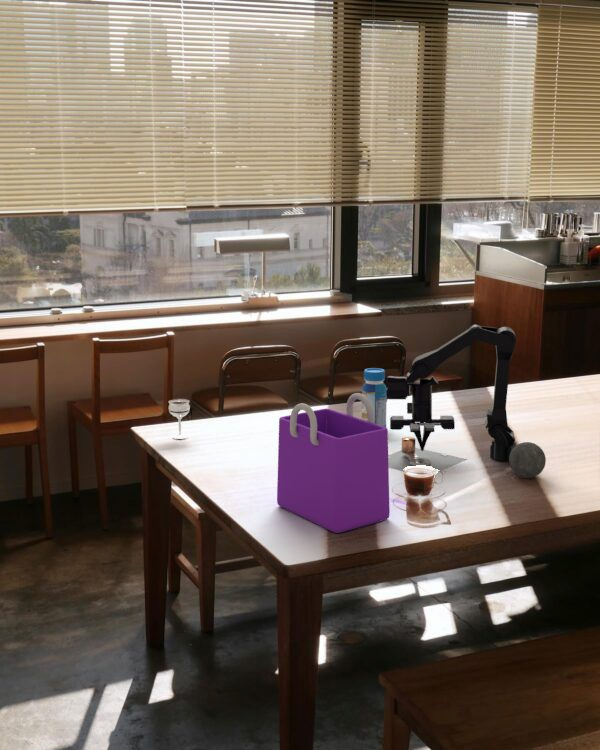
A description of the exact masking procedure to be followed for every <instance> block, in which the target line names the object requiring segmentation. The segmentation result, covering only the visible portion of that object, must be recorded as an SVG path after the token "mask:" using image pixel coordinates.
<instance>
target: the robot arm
mask: <svg viewBox="0 0 600 750" xmlns="http://www.w3.org/2000/svg"><path fill="white" fill-rule="evenodd" d="M476 341H479V342H482V343H486V344H490V345H494V346H495V350H496V351H495V353H496V366H495V377H494V379H495V380H494V386H493V387H494V390H493V398H492V399H493V400H492V401H493V402H492V407H491V409H486V419H485V420H484V424H485V425H484V426H485V429H487V433H488V435H489V436H490V437H491V438H492V439H493V440H491V444H490V448H489V458H490V459H492V460H494V461H496V462H500V463H509V456H510V453H511V451H512V449H513V448H514V447H515V446H516V445H517V444H516V443H517V442H516V437H515V433H514V430H513V429H512V428H510V426H509V425H508V416H507V399H508V398H507V397H508V388H509V374H510V367H511V366H510V365H511V360H512V358H513V354H514V352H515V348H516V344H517V336H516V334H515V331H514V330H513V329H512V328H511V327H510V326H502V327H500V328H498V327H493V326H484V325H479V324H472V325H471V326H470V327H469V328H468V329H466V330H465V331H463V332H462V333H461V334H460V333H459V335H457V336H455V337H453V338H452V339H451V340H449V341H448V342H446V343H445V344H443V345H441V346H440V347H438V348H436V349H434V350H432V351H427V352H426V353H422V354H420V355H418V356H416V357H415V358H414V359H413V361H412V366H411V369H410V370H409V371H408V372H407V374H406V375H405V376H393V375H388V376H387V382H386V383H387V385H386V388H387V392H386V396H387V400H407V398H408V397H410V396H411V399H412V400H411V402H407V403H406V413H407V414H408V415H409V414H411V419H410V418H404V415H391V416H390V418H389V421H390V422H389V426H390V427H389V429H390V430H394V431H395V430H397V431H399V430H402V429H403V428H404V427H406V426H408V427H409V432H410V433H413V435H414V436H415V437H416V438H415V439H416V440H417V442H418V445H419V449H421V451H423V450H425V447H426V445H427V441H428V440H429V437H430V435H431V434H432V433H434V432H435V426H440V427H441V428H442V429H443V430H455V427H456V426H455V423H456V422H455V418H454V416H453V415H440V417H439V418H433V410H432V409H433V403H432V402H433V401H432V400H433V386H438V385H439V380H438V379H436V378H435V376H434V375H432V374H433V373H434V372H435V371H436V370H437V369H438V368H439V367H440V365H442V364H443V363H444V362H445V361H447V360H449V359H450V358H451V357H453V356H455V355H456V354H458V353H459V352H461V351H462V350H464V349H465V348H467V347H469V346H470V345H472V344H474V343H475V342H476ZM430 375H431V376H430ZM428 377H429V378H428ZM422 426H423V430H421V427H422ZM422 431H423V433H422Z"/></svg>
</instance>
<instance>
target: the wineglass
mask: <svg viewBox="0 0 600 750" xmlns="http://www.w3.org/2000/svg"><path fill="white" fill-rule="evenodd" d="M189 403H190V400H189V399H185V398H174V399H171V400H168V404H169V405H168V412H169V414H170V415H172V416H173V417H176V419H177V420H178V432H179V435H181V433H182V432H181V431H182V430H181V429H182V428H181V427H182V425H181V423H182V421H181V420H182V419H183V417H185V416H187V415H188V414H189V413H190V408H191V405H190V404H189ZM179 435H178V436H179Z"/></svg>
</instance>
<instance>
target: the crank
mask: <svg viewBox="0 0 600 750" xmlns="http://www.w3.org/2000/svg"><path fill="white" fill-rule="evenodd" d="M415 448H416V438H415V437H413V436H404V437H402V438H401V450H402V453H405V454H404V455H405V456H406V457H407V458H408V459H409V460H410V466H416V465H426V466H431V461H429V460H427V459H421V458H419V457H418V456H417V455H416V454H415Z"/></svg>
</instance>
